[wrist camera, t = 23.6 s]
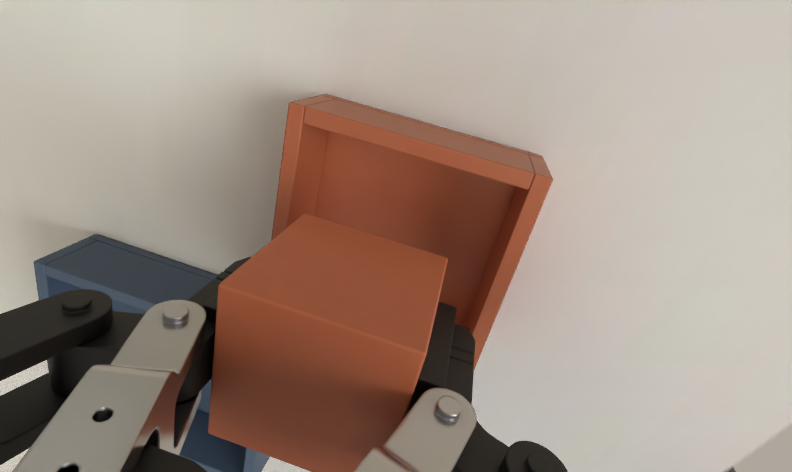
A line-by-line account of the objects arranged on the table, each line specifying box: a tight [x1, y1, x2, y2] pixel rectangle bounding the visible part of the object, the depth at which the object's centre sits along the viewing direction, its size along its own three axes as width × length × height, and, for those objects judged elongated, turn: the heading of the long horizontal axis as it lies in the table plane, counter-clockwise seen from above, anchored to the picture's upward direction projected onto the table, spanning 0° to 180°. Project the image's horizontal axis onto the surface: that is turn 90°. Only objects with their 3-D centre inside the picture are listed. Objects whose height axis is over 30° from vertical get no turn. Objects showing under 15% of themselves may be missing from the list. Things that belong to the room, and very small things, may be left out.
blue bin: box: [34, 234, 270, 472], centre depth 23 cm, size 12×10×4 cm
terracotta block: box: [208, 214, 448, 472], centre depth 12 cm, size 4×4×4 cm
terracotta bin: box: [271, 94, 553, 369], centre depth 18 cm, size 9×9×4 cm
